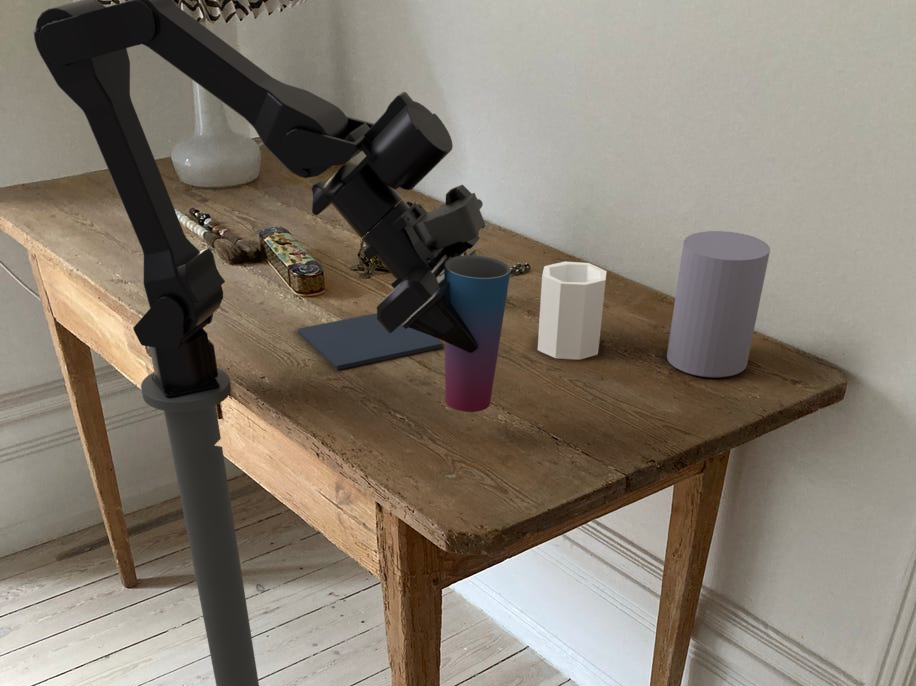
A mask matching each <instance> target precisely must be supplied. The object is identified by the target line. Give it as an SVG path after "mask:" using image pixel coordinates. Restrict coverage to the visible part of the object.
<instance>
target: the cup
mask: <svg viewBox="0 0 916 686" xmlns="http://www.w3.org/2000/svg"><path fill="white" fill-rule="evenodd" d="M511 271H512V270H511V267H510V266H509V264H508V263H506V262H505V261H503V260H500V259H498V258H495V257H490V256H484V255H476V256H475V255H469V254H468V255H467V254H466V255H464V256H457V257H453V258H450V259H448V260H447V261H446V262H445V264H444V286H445V285H446V284H447V283H448V282H450V302H451V304H452V306H453V307H454V309H455V310H456V312H457V313H458V315H459V316H460V318H461V319H462V321H463V322H464V323H465V325H466V326H467V328H468V329H469V331H470V332H471V334H472V335H473V337H474V339H475V340H476V342H477V344H478V346H479V347H478V349H477V350H475V351H474V352H473V353H469V352H467V351H465V350H463V349H460V348H458V347H456V346H454V345H451V344H449V343H447V342H445V341H444V402H445V404H446V405H447V406H448V407H450V408H451V409H453V410H456V411H460V412H463V413H464V412H465V413H476V412H482V411H485V410H486V409H488V408H489V407H490V406H491V400H492V393H493V388H494V387H493V386H494V380H495V374H496V367H497V363H498V362H497V361H498V354H499V349H500V342H501V335H502V329H503V322H504V316H505V309H506V303H507V297H508V290H509V283H510V278H511Z"/></svg>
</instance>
